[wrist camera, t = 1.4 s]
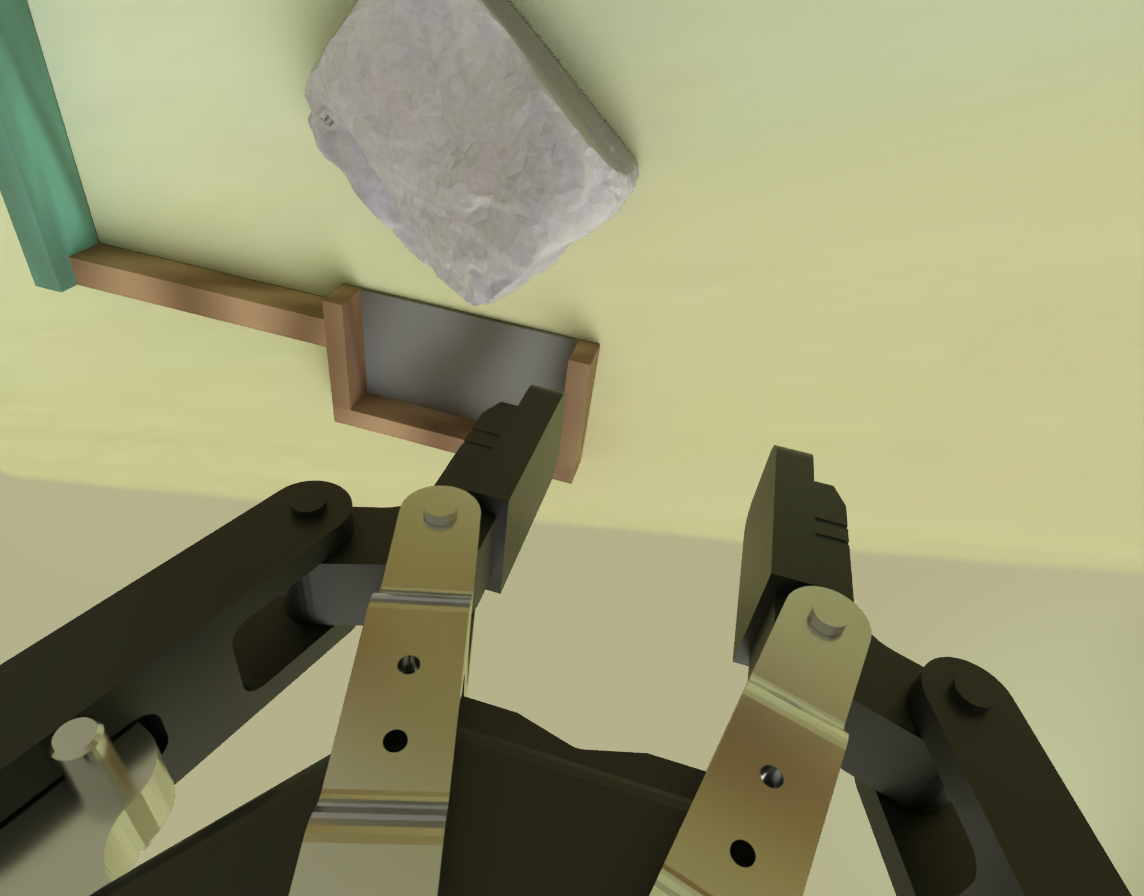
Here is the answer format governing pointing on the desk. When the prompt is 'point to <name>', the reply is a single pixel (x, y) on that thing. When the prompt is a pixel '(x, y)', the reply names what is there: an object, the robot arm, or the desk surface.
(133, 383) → the desk surface
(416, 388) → the trap lane
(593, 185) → the stone block
